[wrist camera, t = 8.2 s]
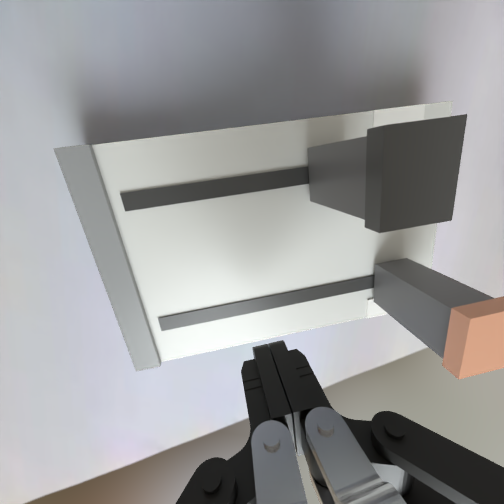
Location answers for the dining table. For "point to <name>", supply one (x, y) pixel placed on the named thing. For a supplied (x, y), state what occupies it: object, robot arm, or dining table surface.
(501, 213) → the dining table surface
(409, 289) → the terracotta fader
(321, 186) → the black fader
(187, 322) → the console
